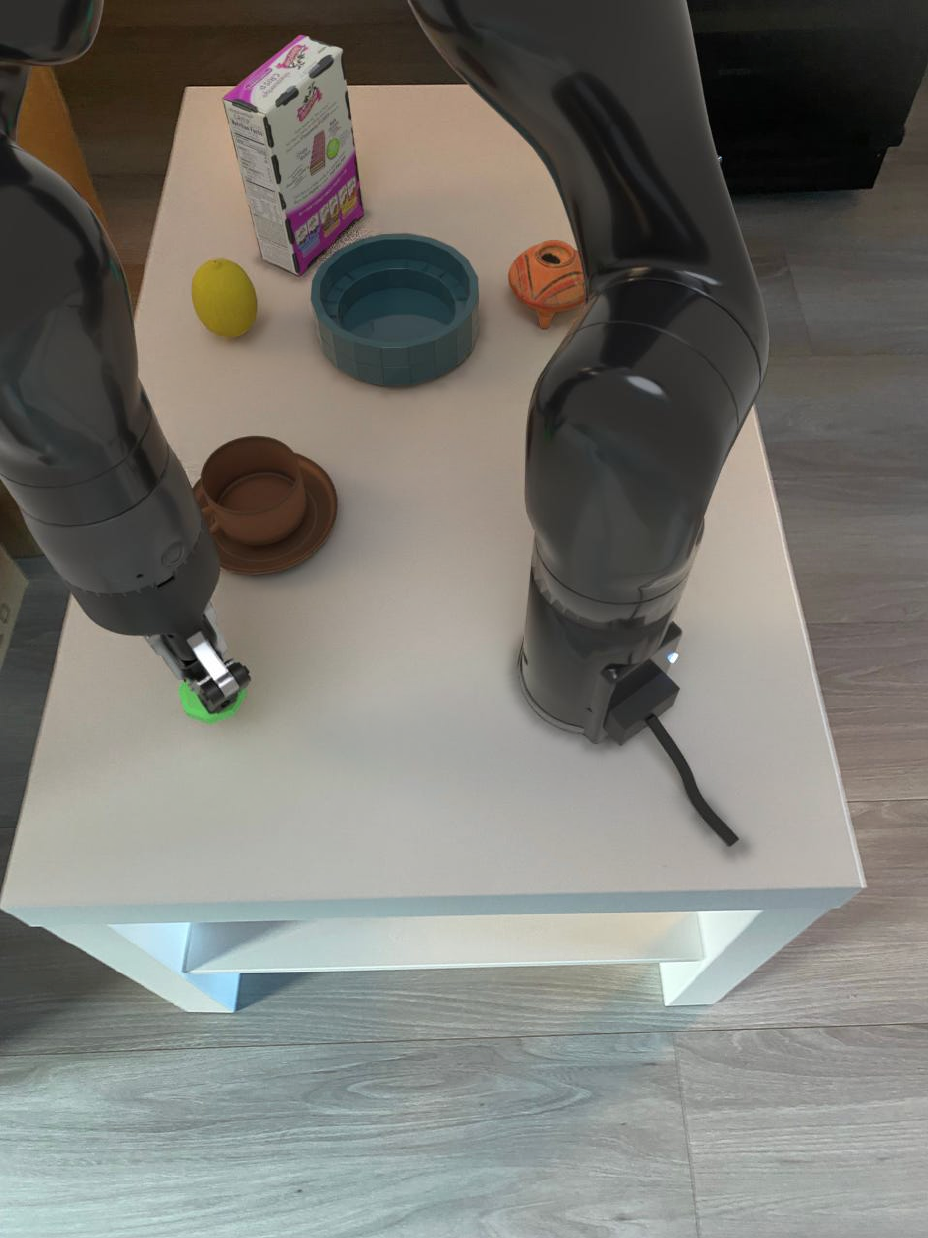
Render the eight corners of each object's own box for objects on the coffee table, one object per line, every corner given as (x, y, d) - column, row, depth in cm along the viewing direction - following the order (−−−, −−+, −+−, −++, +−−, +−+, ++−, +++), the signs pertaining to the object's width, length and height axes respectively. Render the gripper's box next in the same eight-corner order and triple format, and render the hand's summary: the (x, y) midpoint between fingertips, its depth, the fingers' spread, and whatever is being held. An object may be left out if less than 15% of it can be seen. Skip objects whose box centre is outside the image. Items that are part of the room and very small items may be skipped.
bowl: (510, 341, 86) (512, 297, 82) (379, 415, 82) (374, 373, 77) (415, 257, 92) (413, 212, 88) (288, 322, 88) (278, 277, 83)
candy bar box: (325, 198, 97) (299, 30, 83) (365, 214, 95) (347, 46, 81) (257, 261, 92) (218, 94, 78) (298, 279, 91) (266, 112, 77)
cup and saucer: (282, 609, 72) (267, 563, 66) (158, 545, 75) (134, 496, 70) (369, 500, 77) (361, 449, 72) (250, 443, 80) (234, 391, 75)
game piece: (219, 654, 64) (195, 606, 58) (260, 693, 62) (239, 647, 57) (167, 696, 62) (138, 650, 57) (208, 737, 60) (182, 694, 55)
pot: (486, 315, 87) (495, 244, 83) (532, 286, 92) (544, 217, 87) (558, 349, 85) (573, 278, 80) (602, 318, 89) (618, 249, 85)
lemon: (254, 359, 85) (235, 287, 78) (195, 351, 86) (171, 278, 79) (272, 317, 88) (255, 244, 81) (216, 309, 89) (194, 236, 82)
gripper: (-11, 480, 48) (106, 649, 63) (124, 664, 42) (218, 802, 57) (120, 408, 50) (203, 587, 65) (265, 573, 45) (320, 728, 59)
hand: (210, 687), depth 61 cm, fingers closed on game piece, 2 cm apart
